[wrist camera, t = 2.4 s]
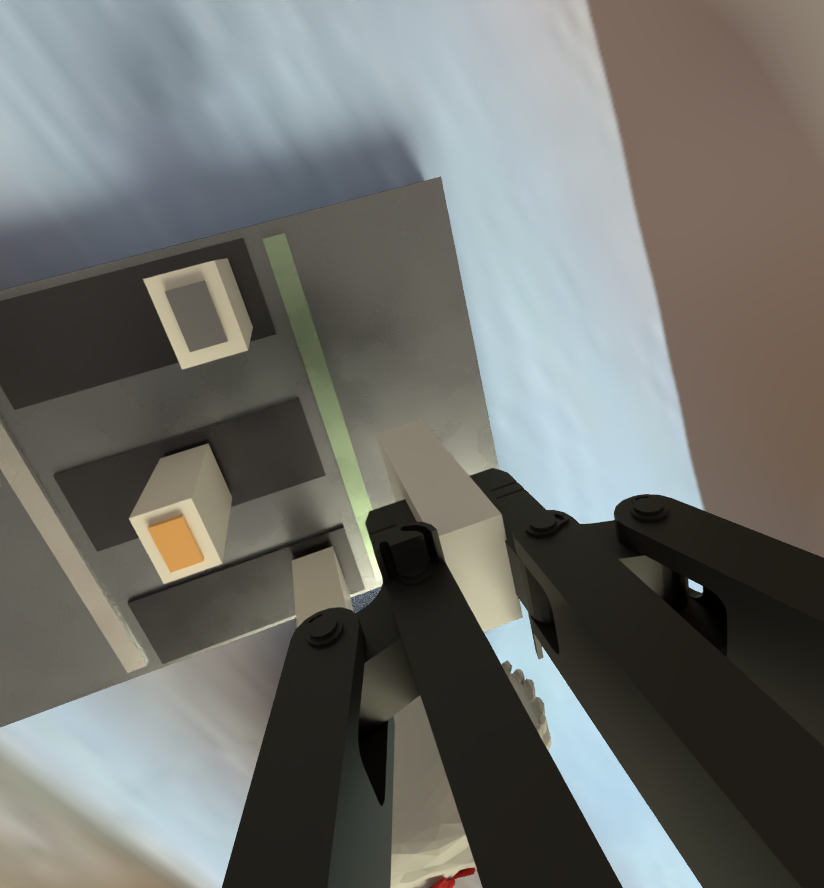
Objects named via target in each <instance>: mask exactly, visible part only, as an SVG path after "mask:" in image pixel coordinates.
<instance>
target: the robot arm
mask: <svg viewBox="0 0 824 888" xmlns="http://www.w3.org/2000/svg"><path fill="white" fill-rule="evenodd" d="M376 436H377V440H378V443H379V447H380V450H381V453H382V457H383V460H384V464H385V467H386V470H387V474H388V477H389V480H390V484H391V487H392V491H393V494H394V497H395V501H396V502H395V503H392V504H389V505H386V506H383V507H380V508H377V509H374V510H371V511H369V513H368V516H367V519H366V521H365V525H366V528H367V531H368V534H369V538H370V541H371V544H372V547H373V550H374V555H375V558H376V561H377V564H378V567H379V570H380V573H381V576H382V581H383V584H382V588H381V590H380V592H379V594H378V595H377V597H376V598H375V599H374V600H373V601H372V602H371V603H370V604H369V605H367V606H366V607H365V608H363V609H362V610H360V611H359V612H357V613H356V614H355V613H354V612H353V611H352V610H349V609H346V608H343V607H337V608H328V609H325V610H322V611H319V612H317V613H315V614H313V615H312V616H310V617H308V618H307V619H305V620H304V621H303V622H302V623H301V624H300V625H299V626H298V627H297V628H296V630H295V632H294V634H293V636H292V638H291V641H290V645H289V648H288V652H287V656H286V659H285V663H284V666H283V670H282V673H281V677H280V681H279V684H278V688H277V691H276V695H275V699H274V702H273V706H272V709H271V713H270V717H269V720H268V724H267V727H266V731H265V735H264V738H263V742H262V745H261V749H260V753H259V756H258V760H257V763H256V767H255V770H254V774H253V778H252V781H251V785H250V788H249V792H248V796H247V799H246V803H245V806H244V810H243V814H242V817H241V821H240V824H239V828H238V832H237V835H236V839H235V842H234V846H233V850H232V853H231V857H230V860H229V864H228V868H227V871H226V875H225V878H224V882H223V885H222V888H390V886H391V850H392V813H393V777H394V741H395V721H394V715H395V714H396V713H397V712H399V711H400V710H401V709H403V708H404V707H405V706H407V705H408V704H409V703H411V702H412V701H413V700H414V699H416V698H417V697H418V696H421V699H422V702H423V705H424V708H425V711H426V714H427V717H428V720H429V724H430V727H431V730H432V733H433V736H434V739H435V742H436V745H437V748H438V751H439V754H440V757H441V761H442V764H443V767H444V770H445V773H446V776H447V779H448V782H449V785H450V788H451V791H452V794H453V797H454V801H455V804H456V807H457V810H458V813H459V816H460V819H461V822H462V825H463V828H464V831H465V834H466V837H467V841H468V844H469V847H470V850H471V853H472V856H473V859H474V862H475V865H476V868H477V871H478V874H479V878H480V881H481V884H482V887H483V888H623V887H622V885H621V884H620V882H619V880H618V878H617V876H616V874H615V873H614V871H613V869H612V867H611V865H610V863H609V862H608V860H607V858H606V856H605V854H604V852H603V851H602V849H601V847H600V845H599V843H598V841H597V840H596V838H595V836H594V834H593V832H592V830H591V829H590V827H589V825H588V823H587V821H586V819H585V818H584V816H583V814H582V812H581V810H580V808H579V807H578V805H577V803H576V801H575V799H574V797H573V796H572V794H571V792H570V790H569V788H568V786H567V784H566V783H565V781H564V779H563V777H562V775H561V773H560V772H559V770H558V768H557V766H556V764H555V762H554V761H553V759H552V757H551V755H550V753H549V751H548V750H547V748H546V746H545V744H544V742H543V740H542V739H541V737H540V735H539V733H538V731H537V729H536V728H535V726H534V724H533V722H532V720H531V718H530V717H529V715H528V713H527V711H526V709H525V707H524V706H523V704H522V702H521V700H520V698H519V696H518V695H517V693H516V691H515V689H514V687H513V685H512V683H511V682H510V680H509V678H508V676H507V674H506V672H505V671H504V669H503V667H502V665H501V663H500V661H499V660H498V658H497V656H496V654H495V652H494V650H493V649H492V647H491V645H490V643H489V641H488V639H487V638H486V636H485V634H484V632H485V631H488V630H490V629H493V628H496V627H498V626H501V625H503V624H506V623H509V622H511V621H514V620H517V619H519V618H522V617H523V616H522V611H521V606H520V601H521V602H522V603H523V605H524V606H525V608H526V609H527V611H528V614H529V619H530V624H531V629H532V634H533V639H534V644H535V649H536V653H537V656H538V659H541V658H543V653H542V646H543V648H544V649H545V651H546V652H547V654H548V655H549V657H550V658H551V660H552V661H553V663H554V664H555V666H556V668H557V669H558V671H559V672H560V674H561V675H562V677H563V678H564V680H565V681H566V683H567V684H568V686H569V687H570V689H571V690H572V692H573V693H574V695H575V696H576V698H577V699H578V701H579V702H580V704H581V705H582V707H583V708H584V710H585V711H586V713H587V714H588V716H589V717H590V719H591V720H592V722H593V723H594V725H595V726H596V728H597V729H598V731H599V732H600V734H601V735H602V737H603V738H604V740H605V741H606V743H607V744H608V746H609V747H610V749H611V750H612V752H613V753H614V755H615V756H616V758H617V759H618V761H619V762H620V764H621V765H622V767H623V768H624V770H625V771H626V773H627V774H628V776H629V777H630V779H631V780H632V782H633V783H634V785H635V786H636V788H637V789H638V791H639V792H640V794H641V795H642V797H643V798H644V800H645V801H646V803H647V804H648V806H649V807H650V809H651V810H652V812H653V813H654V815H655V816H656V818H657V819H658V821H659V822H660V824H661V825H662V827H663V828H664V830H665V832H666V833H667V835H668V836H669V838H670V839H671V841H672V842H673V844H674V845H675V847H676V848H677V850H678V851H679V853H680V854H681V856H682V857H683V859H684V860H685V862H686V863H687V865H688V866H689V868H690V869H691V871H692V872H693V874H694V875H695V877H696V878H697V880H698V881H699V883H700V884H701V886H702V887H703V888H824V558H823V557H820V556H818V555H815V554H812V553H810V552H807V551H805V550H802V549H800V548H797V547H794V546H792V545H790V544H787V543H784V542H782V541H779V540H777V539H774V538H772V537H769V536H767V535H764V534H762V533H759V532H756V531H754V530H751V529H749V528H746V527H744V526H741V525H738V524H736V523H733V522H731V521H728V520H726V519H723V518H721V517H718V516H716V515H713V514H711V513H708V512H706V511H703V510H700V509H698V508H695V507H693V506H690V505H688V504H685V503H683V502H680V501H678V500H675V499H672V498H669V497H665V496H661V495H649V494H644V495H637V496H633V497H630V498H628V499H625V500H623V501H621V502H620V503H619V504H618V505H617V506H616V508H615V511H614V519H615V520H613V521H606V522H599V523H591V524H579V523H578V522H577V521H576V520H575V519H574V518H573V517H571V516H569V515H568V514H566V513H564V512H560V511H556V510H546V509H545V508H544V507H543V506H542V505H541V504H540V503H539V502H538V501H536V500H535V499H534V498H533V497H532V496H531V495H530V494H529V493H528V492H527V491H526V490H524V488H523V487H522V486H521V485H520V484H519V483H517V482H516V480H515V479H514V478H513V477H512V476H511V475H510V474H508V473H507V472H504V471H501V470H498V469H495V468H491V469H488V470H485V471H482V472H479V473H476V474H473V475H470V476H469V475H468V474H467V473H466V472H465V470H464V469H463V468H462V467H461V466H460V465H459V463H458V462H457V461H456V460H455V459H454V458H453V456H452V455H451V454H450V453H449V452H448V450H447V449H446V448H445V447H444V446H443V445H442V443H441V442H440V441H439V440H438V439H437V438H436V436H435V435H434V434H433V433H432V432H431V430H430V429H429V428H428V427H427V426H426V425H425V423H424V422H423V421H422V420H421V419H419V420H416V421H413V422H410V423H407V424H404V425H401V426H398V427H394V428H391V429H388V430H385V431H382V432H379V433H376ZM688 578H689V579H690V580H692V581H694V582H696V583H698V584H700V585H702V586H703V593H700V592H697V591H695V590H693V589H691V588H689V586H688ZM519 599H520V601H519Z"/></svg>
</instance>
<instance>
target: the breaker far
mask: <svg viewBox="0 0 824 888" xmlns="http://www.w3.org/2000/svg"><path fill="white" fill-rule="evenodd" d="M292 571H293V584H294V598H295V611H296V625H297V627H298V626H299V625H300V624H301V623H302V622H303V621H304V620H305V619H307V618H308V617H310V616H312V615H313V614H315V613H317V612H319V611H322V610H325V609H328V608H337V607H343V608H346V609H349V610H352V611H353V607H352V603H351V598H350V594H349V590H348V587H347V584H346V582H345V579H344V576H343V573H342V571H341V568H340V565H339V562H338V560H337V557H336V554H335V551H334V549H333V546H332V547H329V548H326V549H323V550H320V551H318V552H315V553H312V554H309V555H306V556H304V557H301V558H298V559H295V560H292ZM353 612H354V611H353Z"/></svg>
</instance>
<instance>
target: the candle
mask: <svg viewBox="0 0 824 888" xmlns="http://www.w3.org/2000/svg"><path fill="white" fill-rule="evenodd" d="M502 667H503V669H504V671H505V672H506V674H507V676H508V678H509V680H510V682H511V683H512V685H513V687H514V689H515V691H516V693H517V695H518V696H519V698H520V700H521V702H522V704H523V706H524V707H525V709H526V711H527V713H528V715H529V717H530V718H531V720H532V722H533V724H534V726H535V728H536V729H537V731H538V733H539V735H540V737H541V739H542V740H543V742H544V744H545V746H546V748H547V750H549V748H550V745H551V737H550V733H549V730H548V726H547V721H546V717H545V709H544V703H543V702H542V700H541V699H540V698H539V697H536V696H535V688H534V683H533V681H532V680H530V679H526V680H525V679H524V674H523V672H522V671H521V670H520V669H516V670H515V671H514V673H513V674H511V669H512V665H511V664H510V663H509V662H508V661H506V662H504V663H503V664H502ZM394 721H395V741H394V777H393V813H392V850H391V886H390V888H453V886H454V885H455V880H454V879H457V878H459V877H464V876H468V875H472V874H474V872H475V869H476V870H477V868H476V865H475V862H474V859H473V856H472V853H471V850H470V847H469V844H468V841H467V837H466V834H465V831H464V828H463V825H462V822H461V819H460V816H459V813H458V810H457V807H456V804H455V801H454V797H453V794H452V791H451V788H450V785H449V782H448V779H447V776H446V773H445V770H444V767H443V764H442V761H441V757H440V754H439V751H438V748H437V745H436V742H435V739H434V736H433V733H432V730H431V727H430V724H429V720H428V717H427V714H426V711H425V708H424V705H423V702H422V699H421V696H418V697H417V698H416V699H414V700H413V701H412V702H411V703H409V704H408V705H407V706H405V707H404V708H403V709H401V710H400V711H399V712H397V713H396V714H395V715H394Z"/></svg>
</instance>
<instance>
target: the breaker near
mask: <svg viewBox="0 0 824 888" xmlns="http://www.w3.org/2000/svg"><path fill="white" fill-rule="evenodd" d="M143 280H144V283H145V285H146V287H147V289H148V292H149V294H150V296H151V299H152V301H153V303H154V306H155V308H156V310H157V313H158V315H159V317H160V320H161V322H162V324H163V326H164V329H165V331H166V333H167V336H168V338H169V340H170V343H171V345H172V347H173V350H174V352H175V354H176V357H177V359H178V361H179V364H180V366H181V368H182V370H183V369H186V368H189V367H193V366H196V365H200V364H203V363H207V362H210V361H213V360H217V359H220V358H224V357H227V356H230V355H234V354H237V353H241V352H244V351H248V348H249V343H250V339H251V334H252V329H253V326H252V324H251V321H250V318H249V315H248V313H247V310H246V307H245V304H244V302H243V299H242V296H241V293H240V291H239V288H238V285H237V282H236V280H235V277H234V274H233V271H232V269H231V266H230V263H229V260H228V258H225V259H219V260H214V261H210V262H206V263H202V264H198V265H195V266H191V267H187V268H183V269H180V270H176V271H172V272H168V273H164V274H161V275H157V276H153V277H149V278H146V279H143Z"/></svg>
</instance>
